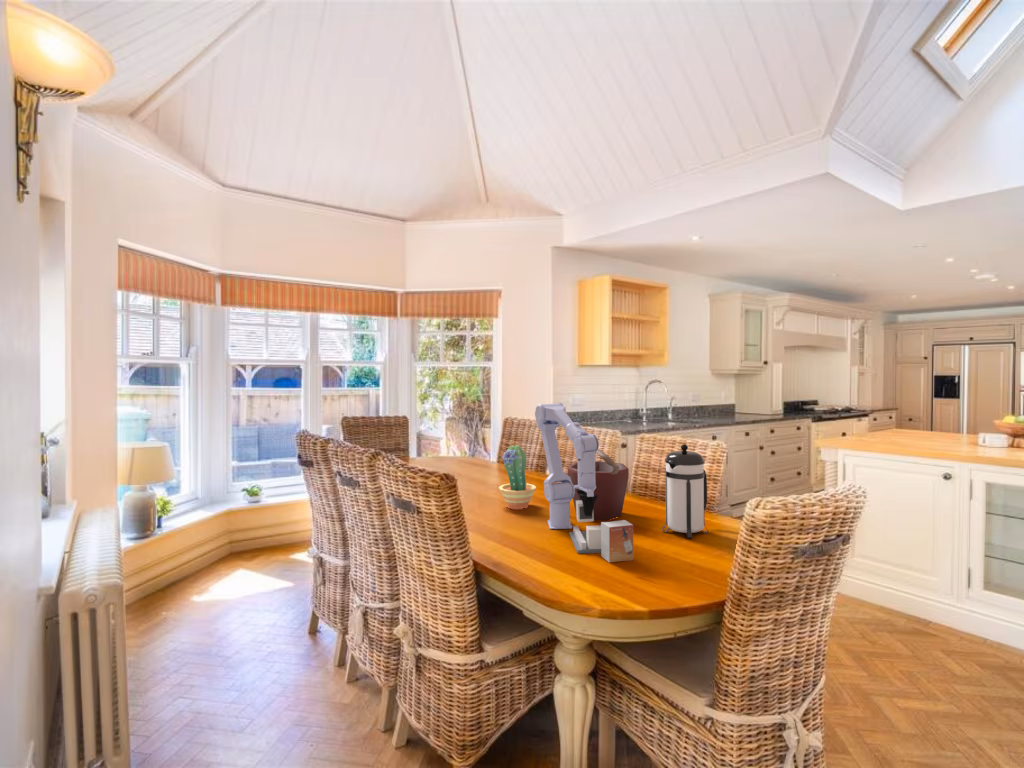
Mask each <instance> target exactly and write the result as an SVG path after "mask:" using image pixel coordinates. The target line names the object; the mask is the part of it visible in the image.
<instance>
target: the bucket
mask: <svg viewBox="0 0 1024 768" xmlns="http://www.w3.org/2000/svg"><path fill="white" fill-rule="evenodd" d="M595 454H596V455H598V456H599V457H600V458H601V459H603V461H601V460H597V461H596V460H595V482H596V489H595V490H594V494H597V495H598V497H597V499H596V501H595V503H594V507H593V513H594V521H596V520H610V519H613V518H616V517H620V516H621V517H622V514H623V509H624V504H625V503H624V502H625V499H626V494H627V487H628V482H629V477H630V476H629V475H630V474H629V472H630V471H629V469H630V468H629V467H627V466H626V465H625V464H624V463H620V462H615V461H614V460H613V459H612V458H611V456H609V455H608V454H606V453H605V451H603V450H601V449H599V448H598V450H597V451H596V452H595ZM567 475H568V476H569V477H571V481H572V484H573V485H578V462H575V463H572V464H571V465H569V466H567ZM577 490H578V488H575V494H574V497H573V498H572V501H573V505H574V510H575V512H576V501H577V500H580V497H579V495H578V492H577ZM621 517H620V518H621ZM616 519H617V518H616ZM613 520H614V519H613ZM610 521H611V520H610Z"/></svg>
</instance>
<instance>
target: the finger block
mask: <svg viewBox="0 0 1024 768" xmlns="http://www.w3.org/2000/svg"><path fill="white" fill-rule="evenodd" d="M575 515H576V520H577V522H578V523H585V522H586V523H587V522H594V521H595V520H594V513H592V516H585V513H584V508H583V503H582V500H577V501H576V511H575Z"/></svg>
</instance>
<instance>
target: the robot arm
mask: <svg viewBox="0 0 1024 768" xmlns="http://www.w3.org/2000/svg"><path fill="white" fill-rule="evenodd" d="M534 416H535V421H536V426H537V428H538V429H539V430H540V433H541V438H542V443H543V444H542V445H543V449H544V454H545V455H544V456H545V458H546V464H547V468H548V473H549V475H548V476H547V477H546V478H545V480H544V481H543V487H544V488H543V489H544V490H543V494H544V498H545V499H546V500H547V502H548V503H549V519H548V520H547V524H548V527H549V529H550V530H562V529H563V530H567V529H569V530H570V529H573V525H572V522H571V502H572V501H573V497H574V494H575V488H578V490H577V492H578V495H579V497H580V500H582V503H583V508H584V513H585V516H592V513H593V507H594V503H595V501H596V499H597V497H598V495H597V494H594V490H595V489H596V482H595V461H596V451H597V450H598V449H599V447H600V445H599V443H600V442H599V439H598V436H596V434H594V433H593V434H592V433H588V432H587V431H586V429H584V428H583V427H582V426H581V424H580V423H579V422H577V421H574V422H573V420H572V418H570V416H569V415H568V414H567V410H566V406H565V405H564V404H563V403H561V402H557V403H539V404H537V405H536V408H535V411H534ZM560 426H561V427H562V428H563V429H564V434H565V435H566V436H567V438H569V440H570V441H571V442H572V444H573V448H574V451H575V458H576V459H577V463H578V485H573V484H572V481H571V477H569V476H568V473H567V474H566V472H564V469H563V464H562V463H563V462H562V458H561V454H560V448H559V445H558V440H557V435H556V429H558V428H559V427H560Z"/></svg>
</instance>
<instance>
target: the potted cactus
mask: <svg viewBox="0 0 1024 768" xmlns="http://www.w3.org/2000/svg"><path fill="white" fill-rule="evenodd" d="M501 458H502V460H503V465H504V468H505V470H506V473H507V476H508V480H509V483H505V484H501V485H500V486H498V490H499V492H500V493H501V495H502V498H503V500H504V501H505V503H506V507H508V508H507V509H510V508H511V510H524V509H523V508H525V509H527V508H529V507H528V506H529V503H530V502H531V501H532V499H533V496H534V494H535V492H536V491H537V490H536V489H537V486H536V485H534V484H530V483H527V481H526V472H525V471H526V469H527V467H526V466H527V454H526V451H525V450H523V448H522V446H521V445H517V444H516V445H509V446H508V448H507V450H506V451H505V452H503V455H502V457H501Z"/></svg>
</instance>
